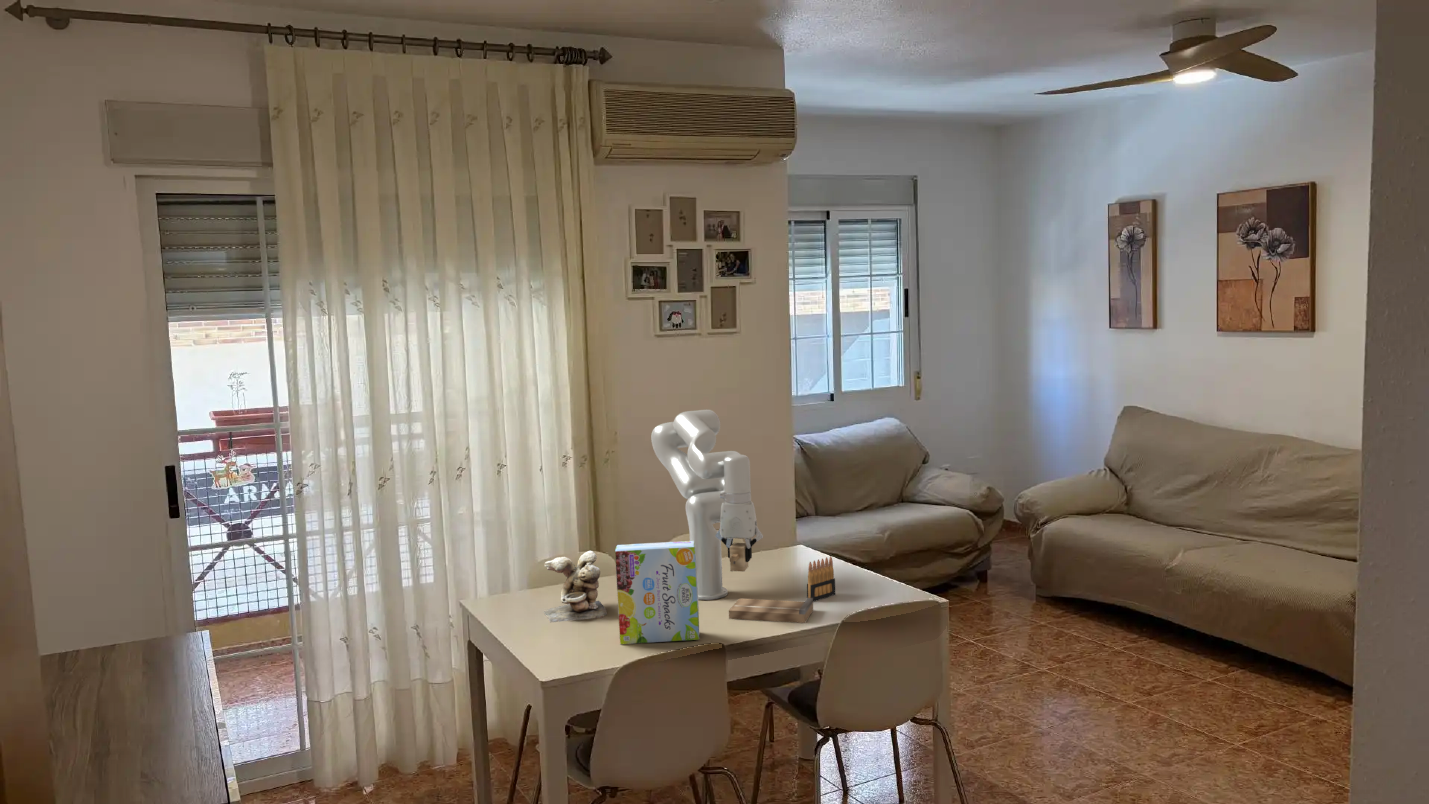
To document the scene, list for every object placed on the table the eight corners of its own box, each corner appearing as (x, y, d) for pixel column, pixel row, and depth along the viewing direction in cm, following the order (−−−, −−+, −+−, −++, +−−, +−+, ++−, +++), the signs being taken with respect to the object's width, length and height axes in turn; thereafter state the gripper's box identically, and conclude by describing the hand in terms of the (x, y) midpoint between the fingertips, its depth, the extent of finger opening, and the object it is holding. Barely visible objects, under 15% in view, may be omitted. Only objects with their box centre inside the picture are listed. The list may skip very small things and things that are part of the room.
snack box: (699, 631, 294) (696, 539, 291) (700, 641, 285) (696, 547, 282) (620, 634, 293) (616, 542, 290) (618, 645, 284) (614, 550, 281)
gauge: (727, 574, 302) (726, 549, 301) (737, 563, 313) (736, 540, 312) (741, 574, 301) (740, 550, 300) (751, 563, 311) (750, 540, 311)
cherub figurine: (549, 624, 304) (546, 563, 302) (540, 607, 321) (537, 549, 319) (610, 616, 309) (608, 556, 308) (598, 600, 327) (595, 543, 325)
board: (729, 618, 304) (728, 606, 304) (739, 606, 315) (739, 594, 315) (805, 622, 298) (804, 610, 298) (813, 610, 309) (812, 598, 309)
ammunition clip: (811, 602, 318) (810, 562, 316) (806, 600, 319) (805, 561, 318) (835, 594, 324) (835, 556, 323) (831, 593, 326) (830, 555, 325)
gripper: (706, 500, 304) (708, 563, 306) (763, 501, 300) (765, 565, 301) (713, 495, 312) (715, 556, 313) (769, 496, 307) (771, 558, 309)
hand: (740, 560), depth 307 cm, fingers closed on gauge, 4 cm apart
